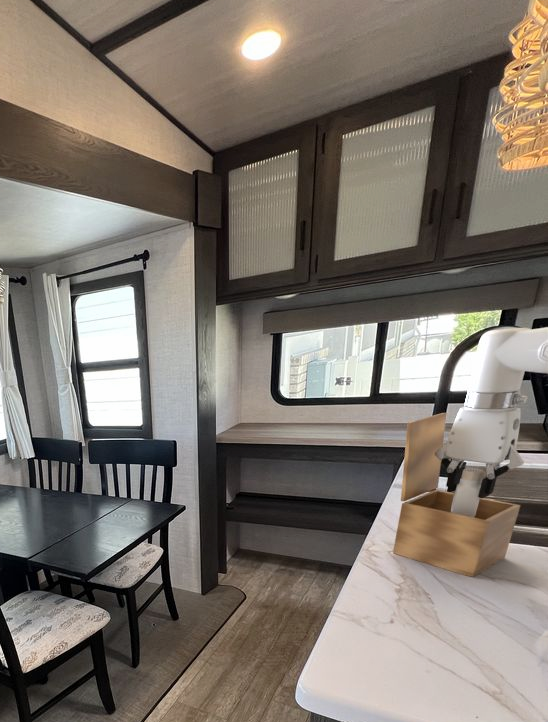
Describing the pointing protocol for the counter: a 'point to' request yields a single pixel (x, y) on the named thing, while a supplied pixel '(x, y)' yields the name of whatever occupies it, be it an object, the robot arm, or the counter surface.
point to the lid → (422, 456)
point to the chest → (454, 533)
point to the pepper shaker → (467, 493)
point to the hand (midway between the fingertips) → (467, 492)
